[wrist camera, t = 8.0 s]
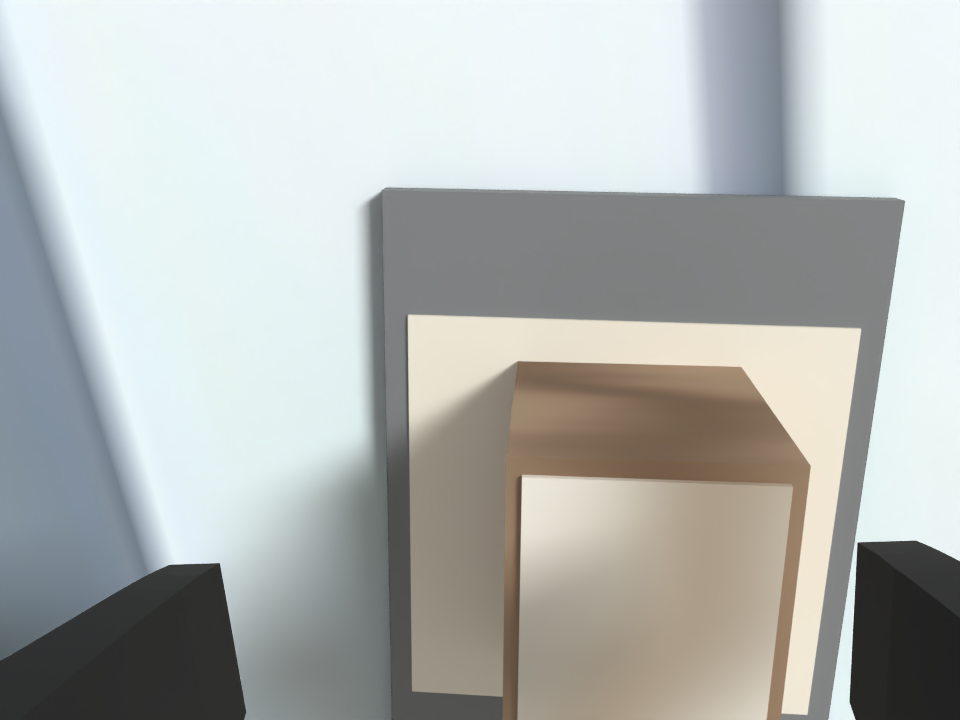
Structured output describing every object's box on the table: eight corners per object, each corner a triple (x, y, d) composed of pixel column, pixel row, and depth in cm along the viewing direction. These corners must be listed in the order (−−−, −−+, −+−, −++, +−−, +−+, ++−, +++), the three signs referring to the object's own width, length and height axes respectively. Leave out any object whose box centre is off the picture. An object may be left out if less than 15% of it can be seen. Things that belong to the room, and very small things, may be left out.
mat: (386, 187, 18) (381, 190, 17) (895, 197, 17) (906, 201, 17) (396, 760, 22) (392, 778, 21) (809, 788, 21) (816, 806, 21)
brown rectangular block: (512, 655, 20) (500, 834, 15) (517, 360, 18) (505, 458, 13) (713, 665, 20) (766, 851, 15) (740, 366, 18) (812, 468, 13)
